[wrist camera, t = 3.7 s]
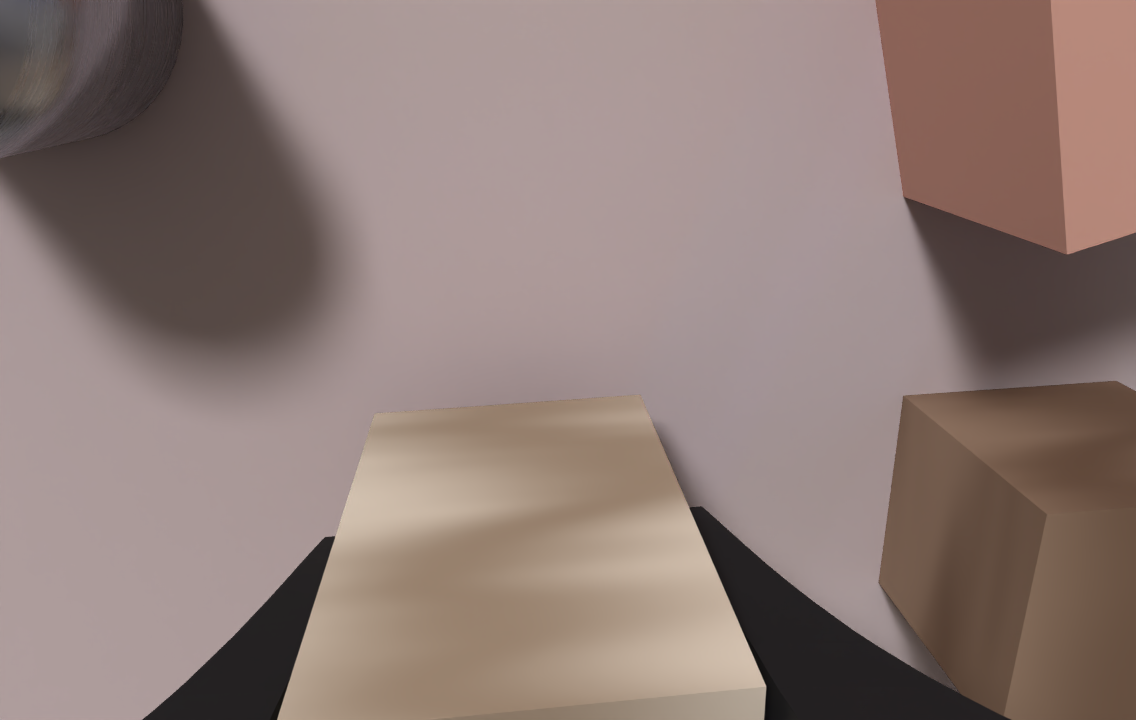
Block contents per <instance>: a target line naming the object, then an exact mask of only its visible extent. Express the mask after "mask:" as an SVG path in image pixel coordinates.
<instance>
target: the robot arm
mask: <svg viewBox="0 0 1136 720" xmlns="http://www.w3.org/2000/svg"><path fill="white" fill-rule="evenodd" d="M689 509H690V511H691V513H692V516H693V518H694V520H695V523H696V525H697V527H698V530H699V532H700V534H701V536H702V539H703V541H704V543H705V546H706V548H707V550H708V553H709V555H710V557H711V560H712V562H713V564H714V567H715V569H716V571H717V574H718V576H719V578H720V580H721V583H722V585H723V587H724V590H725V592H726V594H727V597H728V599H729V601H730V604H731V606H732V608H733V611H734V613H735V615H736V618H737V620H738V622H739V625H740V627H741V629H742V631H743V634H744V636H745V638H746V641H747V643H748V645H749V648H750V650H751V652H752V655H753V657H754V659H755V662H756V664H757V666H758V669H759V671H760V673H761V675H762V678H763V680H764V682H765V685H766V699H765V713H764V720H1011V719H1009V718H1007V717H1004V716H1002V715H1000V714H998V713H996V712H994V711H992V710H991V709H989V708H987V707H985V706H983V705H981V704H979V703H977V702H975V701H973V700H971V699H969V698H967V697H965V696H963V695H961V694H959V693H957V692H955V691H954V690H952V689H950V688H948V687H946V686H944V685H942V684H940V683H939V682H937V681H935V680H933V679H931V678H930V677H928V676H926V675H924V674H923V673H921V672H919V671H917V670H916V669H914V668H912V667H911V666H909V665H908V664H906V663H904V662H903V661H901V660H899V659H898V658H896V657H894V656H893V655H891V654H890V653H888V652H886V651H885V650H883V649H881V648H880V647H878V646H876V645H875V644H873V643H872V642H870V641H869V640H867V639H866V638H864V637H863V636H861V635H860V634H858V633H857V632H855V631H854V630H852V629H851V628H849V627H848V626H846V625H845V624H844V623H842V622H841V621H840V620H838V619H837V618H835V617H834V616H833V615H831V614H830V613H828V612H827V611H826V610H824V609H823V608H822V607H820V606H819V605H817V604H816V603H815V602H813V601H812V600H811V599H809V598H808V597H807V596H806V595H804V594H803V593H802V592H800V591H799V590H798V589H797V588H795V587H794V586H793V585H792V584H790V583H789V582H788V581H787V580H785V579H784V578H783V577H782V576H780V575H779V574H778V573H777V572H776V571H774V570H773V569H772V568H771V567H770V566H768V565H767V564H766V563H765V562H764V561H762V560H761V559H760V558H759V557H758V556H757V555H756V554H754V553H753V552H752V551H751V550H750V549H749V548H748V547H747V546H745V545H744V544H743V543H742V542H741V541H740V540H739V539H738V538H736V537H735V536H734V535H733V534H732V533H731V532H730V531H729V530H728V529H726V528H725V527H724V526H723V525H722V524H721V523H720V522H719V521H717V520H716V519H715V518H714V517H713V516H712V515H711V514H710V513H709V512H707V511H706V510H705V509H704V508H703V507H689ZM334 540H335V536H333V537H325V538H324V539H323V540H322V541H321V542H320V543H319V544H318V545H317V546H316V547H315V548H314V549H313V550H312V552H311V553H310V554H309V555H308V556H307V557H306V558H305V559H304V560H303V561H302V563H301V564H300V565H299V566H298V567H297V568H296V569H295V570H294V571H293V573H292V574H291V575H290V576H289V577H288V578H287V579H286V580H285V582H284V583H283V584H282V585H281V586H280V587H279V588H278V589H277V590H276V591H275V593H274V594H273V595H272V596H271V597H270V598H269V599H268V600H267V601H266V602H265V604H264V605H263V606H262V607H261V608H260V609H259V610H258V611H257V612H256V613H255V614H254V615H253V616H252V617H251V618H250V619H249V620H248V622H247V623H246V624H245V625H244V626H243V627H242V628H241V629H240V630H239V631H238V632H237V633H236V634H235V635H234V636H233V637H232V638H231V639H230V640H229V641H228V642H227V643H226V644H225V645H224V646H223V647H222V648H221V649H220V650H219V651H218V652H217V653H216V654H215V655H214V656H213V657H212V658H210V659H209V660H208V661H207V662H206V663H205V664H204V665H203V666H202V667H201V668H200V669H199V670H198V671H197V672H196V673H195V674H194V675H193V676H192V677H191V678H190V679H189V680H188V681H187V682H186V683H184V684H183V685H182V686H181V687H180V688H179V689H178V690H177V691H176V692H174V693H173V694H172V695H171V696H170V697H169V698H168V699H166V700H165V701H164V702H163V703H162V704H161V705H159V706H158V707H157V708H156V709H155V710H154V711H152V712H151V713H150V714H149V715H148V716H146V717H145V718H144V719H143V720H277V718H278V715H279V712H280V709H281V706H282V703H283V700H284V696H285V693H286V690H287V687H288V684H289V681H290V678H291V674H292V671H293V668H294V665H295V662H296V659H297V656H298V653H299V649H300V646H301V643H302V640H303V637H304V634H305V631H306V627H307V624H308V621H309V618H310V615H311V612H312V609H313V605H314V602H315V599H316V596H317V593H318V590H319V587H320V584H321V580H322V577H323V574H324V571H325V568H326V565H327V562H328V558H329V555H330V552H331V549H332V546H333V543H334Z"/></svg>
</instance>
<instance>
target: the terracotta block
mask: <svg viewBox="0 0 1136 720" xmlns="http://www.w3.org/2000/svg"><path fill="white" fill-rule="evenodd" d="M876 7H877V14H878V21H879V29H880V36H881V43H882V50H883V57H884V64H885V71H886V78H887V85H888V92H889V99H890V106H891V113H892V120H893V127H894V134H895V141H896V148H897V155H898V162H899V169H900V176H901V183H902V190H903V197H906V198H909V199H912V200H915V201H918V202H920V203H923V204H926V205H929V206H932V207H934V208H937V209H940V210H943V211H946V212H948V213H951V214H954V215H957V216H960V217H963V218H965V219H968V220H971V221H974V222H977V223H979V224H982V225H985V226H988V227H991V228H994V229H996V230H999V231H1002V232H1005V233H1008V234H1010V235H1013V236H1016V237H1019V238H1022V239H1024V240H1027V241H1030V242H1033V243H1036V244H1039V245H1041V246H1044V247H1047V248H1050V249H1053V250H1055V251H1058V252H1061V253H1064V254H1067V255H1068V254H1071V253H1074V252H1077V251H1080V250H1083V249H1086V248H1089V247H1093V246H1096V245H1099V244H1102V243H1105V242H1108V241H1111V240H1114V239H1118V238H1121V237H1124V236H1127V235H1130V234H1133V233H1136V0H876Z"/></svg>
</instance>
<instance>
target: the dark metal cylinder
mask: <svg viewBox="0 0 1136 720" xmlns="http://www.w3.org/2000/svg"><path fill="white" fill-rule="evenodd" d="M182 27H183V2H182V0H0V158H3V157H7V156H12V155H16V154H21V153H25V152H30V151H34V150H39V149H43V148H48V147H53V146H57V145H62V144H66V143H71V142H75V141H80V140H84V139H88V138H92V137H96V136H100V135H103V134H106V133H108V132H110V131H113V130H115V129H117V128H119V127H121V126H123V125H124V124H126V123H128V122H129V121H131V120H133V119H134V118H135V117H136V116H138V115H139V114H140V113H141V112H142V111H144V110H145V109H146V108H147V107H148V106H149V105H150V104H151V102H152V101H153V100H154V99H155V98H156V97H157V95H158V94H159V93H160V91H161V90H162V88H163V86H164V85H165V83H166V82H167V80H168V78H169V76H170V74H171V71H172V69H173V67H174V64H175V62H176V58H177V55H178V51H179V47H180V43H181V35H182Z"/></svg>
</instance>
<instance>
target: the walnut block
mask: <svg viewBox="0 0 1136 720" xmlns="http://www.w3.org/2000/svg"><path fill="white" fill-rule="evenodd" d="M879 584H880V585H881V586H882V588H883V589H884V590H885V592H886V593H887V594H888V596H889V597H890V599H891V600H892V601H893V603H894V604H895V605H896V607H897V608H898V609H899V611H900V612H901V613H902V615H903V616H904V618H905V619H906V620H907V622H908V623H909V624H910V626H911V627H912V628H913V630H914V631H915V632H916V634H917V635H918V636H919V638H920V639H921V641H922V642H923V643H924V645H925V646H926V647H927V649H928V650H929V651H930V653H931V654H932V655H933V657H934V658H935V660H936V661H937V662H938V664H939V665H940V666H941V668H942V669H943V670H944V672H945V673H946V674H947V676H948V677H949V679H950V680H951V681H952V683H953V684H954V685H955V687H956V688H957V689H958V691H959V692H960V693H961V695H963V696H965V697H967V698H969V699H971V700H973V701H975V702H977V703H979V704H981V705H983V706H985V707H987V708H989V709H991V710H992V711H994V712H996V713H998V714H1000V715H1002V716H1004V717H1007V718H1009V719H1011V720H1136V391H1134V390H1132V389H1131V388H1129V387H1127V386H1125V385H1123V384H1121V383H1119V382H1117V381H1108V382H1093V383H1079V384H1065V385H1050V386H1036V387H1021V388H1007V389H993V390H978V391H964V392H949V393H935V394H921V395H906V396H903V402H902V410H901V417H900V425H899V433H898V440H897V448H896V455H895V463H894V470H893V478H892V485H891V493H890V500H889V508H888V516H887V523H886V531H885V538H884V546H883V553H882V561H881V568H880V576H879Z"/></svg>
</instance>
